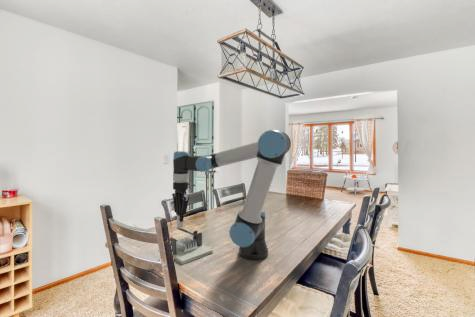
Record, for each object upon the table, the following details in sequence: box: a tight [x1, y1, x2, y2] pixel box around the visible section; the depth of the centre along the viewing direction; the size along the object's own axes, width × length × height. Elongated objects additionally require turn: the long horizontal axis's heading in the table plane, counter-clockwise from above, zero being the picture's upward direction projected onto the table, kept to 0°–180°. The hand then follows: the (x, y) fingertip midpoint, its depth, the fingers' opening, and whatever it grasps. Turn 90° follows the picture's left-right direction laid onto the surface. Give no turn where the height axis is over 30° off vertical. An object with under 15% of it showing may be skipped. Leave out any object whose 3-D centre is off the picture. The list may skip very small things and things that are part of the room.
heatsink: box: [176, 236, 198, 253], centre depth 126 cm, size 9×8×4 cm
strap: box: [176, 227, 198, 238], centre depth 127 cm, size 3×14×2 cm, turn 134°
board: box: [173, 237, 214, 265], centre depth 126 cm, size 22×18×2 cm
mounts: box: [169, 230, 203, 255], centre depth 126 cm, size 5×16×7 cm, turn 134°
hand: (180, 227), depth 123 cm, fingers closed
